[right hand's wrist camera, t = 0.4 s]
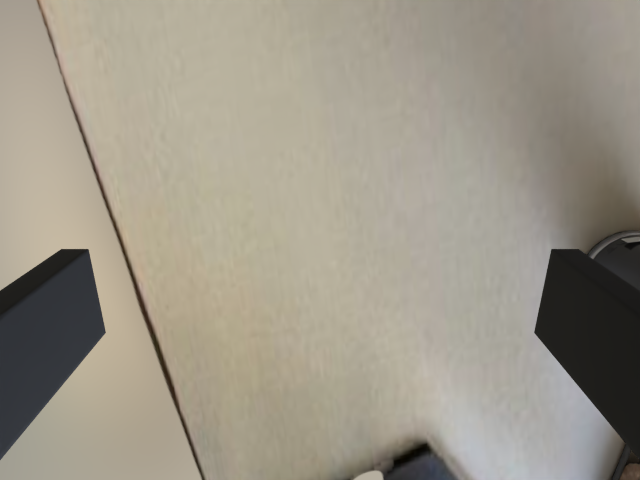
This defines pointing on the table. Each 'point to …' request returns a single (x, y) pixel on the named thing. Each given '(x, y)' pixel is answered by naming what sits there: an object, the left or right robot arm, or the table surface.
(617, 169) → the table surface
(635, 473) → the stone
